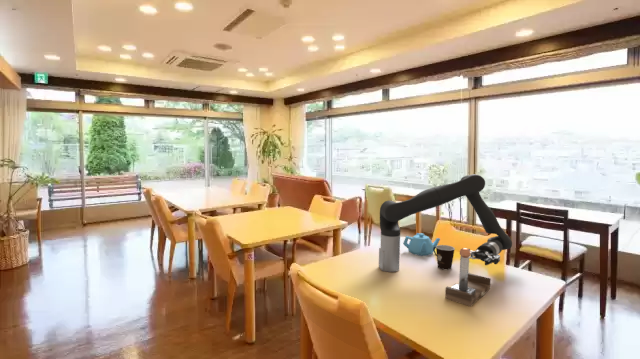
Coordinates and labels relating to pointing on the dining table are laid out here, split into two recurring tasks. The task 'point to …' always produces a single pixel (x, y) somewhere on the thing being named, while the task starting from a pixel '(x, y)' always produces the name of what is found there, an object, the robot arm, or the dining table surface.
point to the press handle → (464, 272)
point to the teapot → (420, 244)
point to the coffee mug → (444, 256)
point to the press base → (464, 297)
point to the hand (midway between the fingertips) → (475, 260)
